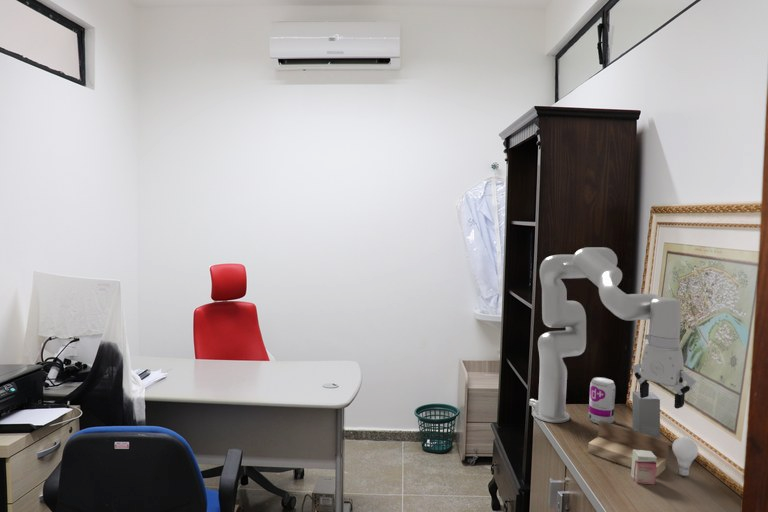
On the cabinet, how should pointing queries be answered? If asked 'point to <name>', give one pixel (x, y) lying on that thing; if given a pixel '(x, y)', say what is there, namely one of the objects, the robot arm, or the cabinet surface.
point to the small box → (643, 466)
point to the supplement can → (601, 400)
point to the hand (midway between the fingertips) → (660, 402)
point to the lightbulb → (684, 454)
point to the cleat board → (627, 445)
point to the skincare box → (646, 414)
